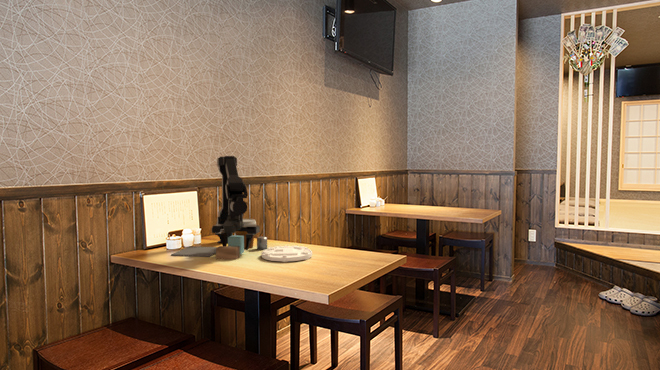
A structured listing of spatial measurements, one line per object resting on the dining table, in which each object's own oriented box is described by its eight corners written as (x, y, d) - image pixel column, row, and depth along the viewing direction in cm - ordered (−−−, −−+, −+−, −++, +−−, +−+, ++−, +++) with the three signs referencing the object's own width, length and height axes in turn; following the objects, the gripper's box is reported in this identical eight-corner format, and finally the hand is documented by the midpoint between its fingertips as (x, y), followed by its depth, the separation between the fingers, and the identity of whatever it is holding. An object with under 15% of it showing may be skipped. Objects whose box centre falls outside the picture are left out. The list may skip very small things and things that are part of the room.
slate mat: (189, 247, 186) (189, 246, 186) (224, 248, 184) (224, 247, 184) (171, 255, 170) (171, 254, 170) (209, 257, 168) (209, 255, 168)
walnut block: (219, 257, 168) (219, 246, 168) (239, 257, 168) (239, 246, 167) (216, 259, 165) (216, 247, 165) (236, 259, 164) (236, 248, 164)
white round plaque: (252, 261, 163) (252, 253, 163) (274, 251, 182) (274, 244, 181) (301, 265, 157) (301, 257, 157) (318, 253, 176) (318, 246, 176)
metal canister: (258, 247, 186) (258, 236, 186) (268, 248, 186) (268, 236, 186) (255, 249, 182) (255, 238, 182) (265, 250, 181) (265, 238, 181)
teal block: (232, 252, 178) (232, 235, 178) (244, 252, 177) (243, 235, 177) (228, 254, 173) (227, 237, 173) (239, 254, 172) (239, 237, 172)
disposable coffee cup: (232, 246, 189) (232, 219, 189) (253, 244, 193) (253, 218, 193) (237, 250, 181) (237, 222, 180) (259, 248, 185) (259, 221, 184)
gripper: (205, 213, 167) (206, 253, 168) (251, 214, 165) (252, 254, 166) (216, 210, 178) (217, 247, 179) (260, 211, 176) (260, 249, 177)
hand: (236, 249), depth 175 cm, fingers open, 9 cm apart
